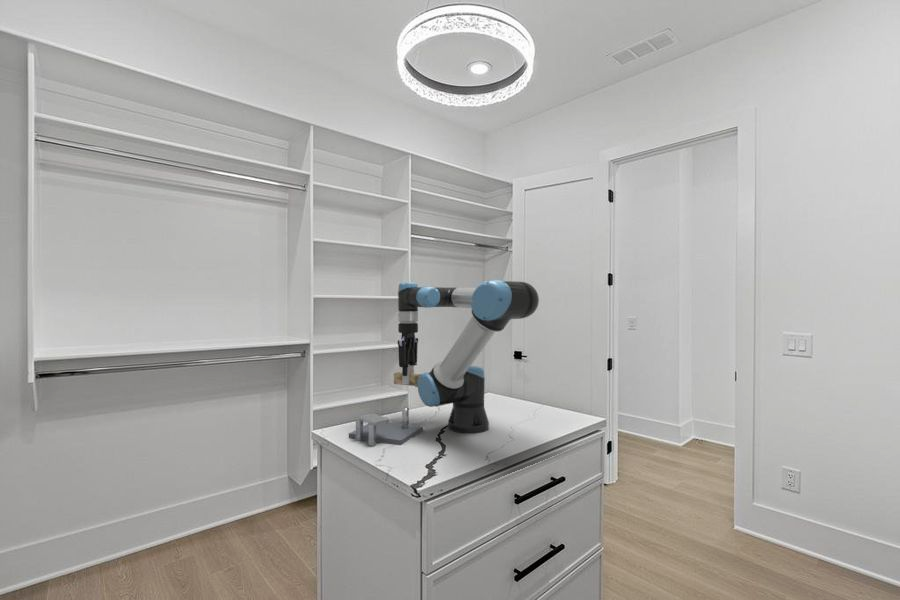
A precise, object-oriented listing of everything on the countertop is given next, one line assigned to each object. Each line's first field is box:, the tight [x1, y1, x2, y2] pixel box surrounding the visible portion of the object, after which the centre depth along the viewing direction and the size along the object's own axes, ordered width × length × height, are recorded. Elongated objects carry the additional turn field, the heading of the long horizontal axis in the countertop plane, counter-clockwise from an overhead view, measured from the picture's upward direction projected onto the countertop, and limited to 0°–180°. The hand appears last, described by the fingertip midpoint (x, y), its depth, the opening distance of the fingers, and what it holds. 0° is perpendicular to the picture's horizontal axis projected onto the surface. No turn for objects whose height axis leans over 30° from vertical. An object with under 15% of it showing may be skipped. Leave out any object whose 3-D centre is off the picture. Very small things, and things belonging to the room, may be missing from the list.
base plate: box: [348, 422, 424, 446], centre depth 155 cm, size 20×17×2 cm
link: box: [393, 371, 425, 388], centre depth 169 cm, size 17×7×4 cm, turn 69°
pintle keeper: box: [355, 407, 410, 447], centre depth 152 cm, size 13×19×8 cm
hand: (408, 383), depth 171 cm, fingers closed on link, 3 cm apart
